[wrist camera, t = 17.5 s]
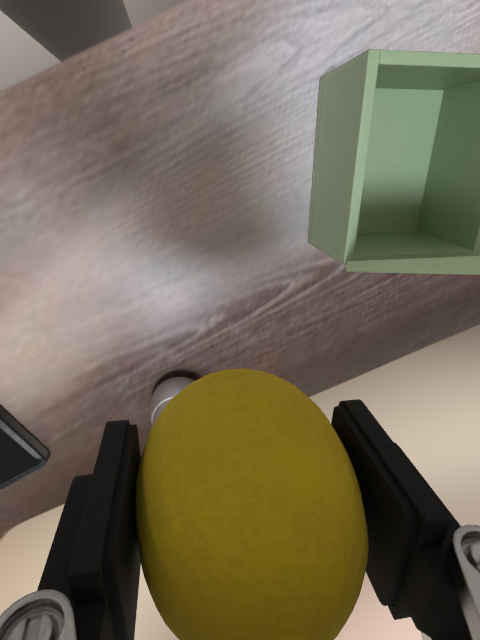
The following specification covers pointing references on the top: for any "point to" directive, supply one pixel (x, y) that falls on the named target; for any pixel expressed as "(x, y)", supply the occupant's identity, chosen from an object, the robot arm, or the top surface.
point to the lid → (419, 265)
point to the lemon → (249, 513)
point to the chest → (398, 157)
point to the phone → (18, 451)
